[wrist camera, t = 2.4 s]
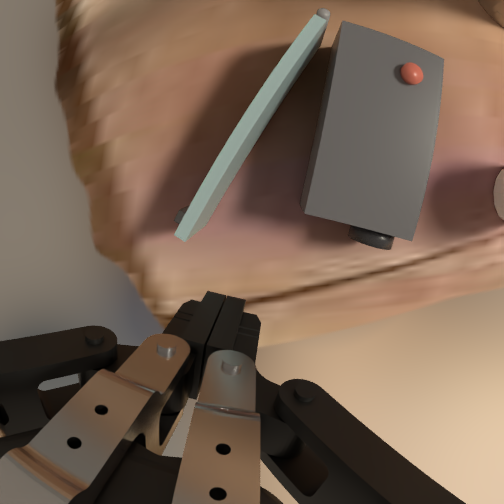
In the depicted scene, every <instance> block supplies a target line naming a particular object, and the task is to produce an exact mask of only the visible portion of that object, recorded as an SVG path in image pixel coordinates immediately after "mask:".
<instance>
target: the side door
mask: <svg viewBox="0 0 504 504" xmlns="http://www.w3.org/2000/svg"><path fill="white" fill-rule="evenodd" d="M329 17H330V12H329V10H327V9H325V8H320V9H318V11H317V14H316V15H315V14H314V16H313V17H312V18H311V19H310V21H309V22H308V23H307V25H306V26H305V27H304V29H303V30H302V31H301V33H300V34H299V35H298V37H297V38H296V39H295V41H294V42H293V43H292V45H291V46H290V48H289V49H288V50H287V52H286V53H285V54H284V56H283V57H282V59H281V60H280V61H279V63H278V64H277V66H276V67H275V69H274V70H273V71H272V73H271V74H270V76H269V77H268V79H267V80H266V82H265V83H264V85H263V86H262V88H261V89H260V91H259V92H258V94H257V95H256V97H255V98H254V100H253V101H252V103H251V104H250V106H249V107H248V109H247V110H246V112H245V113H244V115H243V117H242V118H241V120H240V121H239V123H238V124H237V126H236V128H235V129H234V131H233V132H232V134H231V136H230V137H229V139H228V141H227V142H226V144H225V146H224V147H223V149H222V150H221V152H220V154H219V155H218V157H217V159H216V160H215V162H214V164H213V166H212V167H211V169H210V171H209V172H208V174H207V176H206V178H205V179H204V181H203V183H202V185H201V186H200V188H199V190H198V192H197V193H196V195H195V197H194V199H193V201H192V202H191V204H190V206H187V207H185V208H183V209H181V210H179V212H178V214H177V216H176V218H175V219H174V221H175V222H176V223H178V224H179V226H178V228H177V230H176V232H175V234H174V235H175V236H176V237H178V238H180V239H181V240H183V241H184V242H186V241H187V240H188V239H189V238H191V237H192V236H193V235H194V234H196V233H197V232H198V231H199V230H201V229H202V228H203V227H204V226H206V224H207V223H208V221H209V219H210V218H211V216H212V214H213V212H214V211H215V209H216V207H217V206H218V204H219V202H220V200H221V199H222V197H223V195H224V194H225V192H226V190H227V189H228V187H229V185H230V184H231V182H232V180H233V179H234V177H235V175H236V174H237V172H238V170H239V169H240V167H241V165H242V164H243V162H244V161H245V159H246V157H247V156H248V154H249V153H250V151H251V149H252V148H253V146H254V145H255V143H256V141H257V140H258V138H259V137H260V135H261V133H262V132H263V130H264V129H265V127H266V126H267V124H268V123H269V121H270V119H271V118H272V116H273V115H274V113H275V112H276V110H277V109H278V107H279V106H280V104H281V103H282V101H283V100H284V98H285V97H286V95H287V94H288V92H289V91H290V89H291V88H292V86H293V85H294V83H295V82H296V80H297V79H298V77H299V76H300V74H301V73H302V72H303V70H304V69H305V67H306V66H307V64H308V63H309V61H310V60H311V59H312V57H313V56H314V54H315V53H316V52H317V50H318V48H319V47H320V46H321V43H322V40H323V37H324V33H325V30H326V27H327V24H328V21H329Z"/></svg>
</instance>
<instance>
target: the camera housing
mask: <svg viewBox="0 0 504 504" xmlns="http://www.w3.org/2000/svg"><path fill="white" fill-rule="evenodd" d="M443 68H444V59H443V58H441V57H439V56H437V55H435V54H433V53H431V52H428V51H426V50H424V49H422V48H420V47H417V46H415V45H412V44H410V43H408V42H405V41H403V40H400V39H398V38H395V37H392V36H390V35H387V34H384V33H381V32H378V31H375V30H372V29H369V28H366V27H363V26H360V25H356V24H353V23H349V22H346V21H342V23H341V26H340V28H339V30H338V33H337V35H336V38H335V40H334V42H333V45H332V48H331V54H330V59H329V65H328V70H327V76H326V81H325V86H324V91H323V97H322V102H321V107H320V112H319V117H318V122H317V127H316V131H315V136H314V141H313V146H312V151H311V155H310V160H309V164H308V169H307V174H306V178H305V183H304V187H303V192H302V196H301V200H300V206H301V208H302V210H303V212H304V214H308V215H312V216H317V217H321V218H325V219H329V220H333V221H337V222H341V223H345V224H349V225H351V227H350V231H349V234H348V236H349V237H350V238H351V239H353V240H355V241H358V242H360V243H363V244H365V245H368V246H372V247H375V248H379V249H385V250H390V249H391V248H392V244H393V241H394V237H398V238H402V239H405V240H409V241H412V240H413V236H414V233H415V229H416V226H417V222H418V219H419V215H420V211H421V207H422V203H423V199H424V195H425V191H426V186H427V182H428V177H429V172H430V167H431V162H432V157H433V152H434V146H435V140H436V134H437V127H438V120H439V112H440V103H441V94H442V82H443Z"/></svg>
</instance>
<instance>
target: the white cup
mask: <svg viewBox="0 0 504 504" xmlns="http://www.w3.org/2000/svg"><path fill="white" fill-rule="evenodd" d="M493 195H494V205H495V208H496V210H497V213H498V215H499V217H500V218H501V219H502V220H504V169H502V170H501V171H500V173H499V175H498V176H497V178H496V181H495V186H494V190H493Z"/></svg>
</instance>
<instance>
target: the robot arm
mask: <svg viewBox="0 0 504 504" xmlns="http://www.w3.org/2000/svg"><path fill="white" fill-rule="evenodd" d="M478 1H479V3H480V4H481V6H482V7H483V8H484V9H485V11H486V12H487V13H488V14H489V15H490V16H491V18H493V19H494V20H495V21H496V22H497V23H498V24H499V25H501V26H502V27H503V28H504V0H478ZM245 302H246V300H244V299H240V298H236V297H231V296H227V298H226V295H222V294H218V293H214V292H210V291H207V293H206V295H205V296H204V298H203V300H202V301H201V302H199V301H195V300H190V301H188V302H186V303H184V304H182V306H181V307H180V308H179V310H178V312H177V313H176V314H175V316H174V318H172V320H171V321H170V323H169V324H168V326H167V327H166V329H165V330H164V331H163V333H162V334H155V335H152V336H150V337H148V338H147V339H146V340H145V341H144V342H143V343H142V344H141V345H140V346H129V345H120V344H117V337H116V335H115V334H114V332H112V331H111V330H109V329H107V328H105V327H102V326H86V327H80V328H75V329H70V330H65V331H59V332H54V333H48V334H42V335H36V336H30V337H24V338H19V339H12V340H6V341H0V504H283V503H282V502H281V501H280V500H279V499H278V498H277V497H275V496H274V495H273V494H271V493H270V492H269V491H267V490H266V489H264V488H262V487H261V486H260V459H261V460H262V461H263V463H264V464H265V465H266V466H267V468H268V469H269V470H270V471H271V472H272V474H273V475H274V476H275V477H276V478H277V480H278V481H279V482H280V483H281V484H282V485H283V486H284V488H285V489H286V490H287V491H288V492H289V493H290V494H291V495H292V497H293V498H294V499H295V500H296V501H297V502H298V503H299V504H466V503H464V502H463V501H462V500H460V499H459V498H457V497H456V496H455V495H453V494H452V493H450V492H449V491H448V490H446V489H445V488H444V487H442V486H441V485H440V484H438V483H437V482H435V481H434V480H433V479H431V478H430V477H429V476H428V475H426V474H425V473H424V472H422V471H421V470H420V469H418V468H417V467H416V466H414V465H413V464H412V463H410V462H409V461H408V460H407V459H406V458H404V457H403V456H402V455H401V454H399V453H398V452H397V451H395V450H394V449H393V448H392V447H391V446H389V445H388V444H387V443H386V442H384V441H383V440H382V439H381V438H380V437H378V436H377V435H376V434H375V433H373V432H372V431H371V430H370V429H369V428H367V427H366V426H365V425H364V424H363V423H362V422H360V421H359V420H358V419H357V418H356V417H354V416H353V415H352V414H351V413H349V412H348V411H347V410H346V409H345V408H344V407H343V406H342V405H340V404H339V403H338V402H337V401H336V400H335V399H334V398H332V397H331V396H330V395H329V394H328V393H327V392H326V391H324V390H323V389H322V388H321V387H320V386H318V385H317V384H315V383H313V382H310V381H307V380H303V379H292V380H288V381H286V382H284V383H283V384H282V385H281V386H280V385H277V384H275V383H273V382H270V381H269V380H267V379H265V378H264V377H263V376H261V374H260V373H259V372H258V371H257V369H256V366H255V360H256V353H257V347H258V340H259V333H260V326H261V322H260V320H259V318H258V317H257V315H254V314H250V313H245V312H243V311H244V307H245ZM77 373H78V378H79V383H76V384H72V385H68V386H64V387H60V388H56V389H51V390H46V391H42V390H39V389H38V386H39V384H40V383H42V382H43V381H46V380H50V379H55V378H59V377H64V376H68V375H72V374H77ZM199 391H200V393H199ZM198 394H199V398H198V402H197V403H196V404H195V407H194V411H193V415H192V419H191V423H190V427H189V432H188V436H187V440H186V444H185V449H184V453H183V457H182V458H179V457H168V456H162V454H163V452H164V450H165V448H166V446H167V444H168V442H169V440H170V438H171V436H172V435H173V433H174V431H175V429H176V427H177V425H178V423H179V421H180V419H181V417H182V415H183V411H184V407H185V405H186V403H187V400H188V398H193V399H197V397H198Z"/></svg>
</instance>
